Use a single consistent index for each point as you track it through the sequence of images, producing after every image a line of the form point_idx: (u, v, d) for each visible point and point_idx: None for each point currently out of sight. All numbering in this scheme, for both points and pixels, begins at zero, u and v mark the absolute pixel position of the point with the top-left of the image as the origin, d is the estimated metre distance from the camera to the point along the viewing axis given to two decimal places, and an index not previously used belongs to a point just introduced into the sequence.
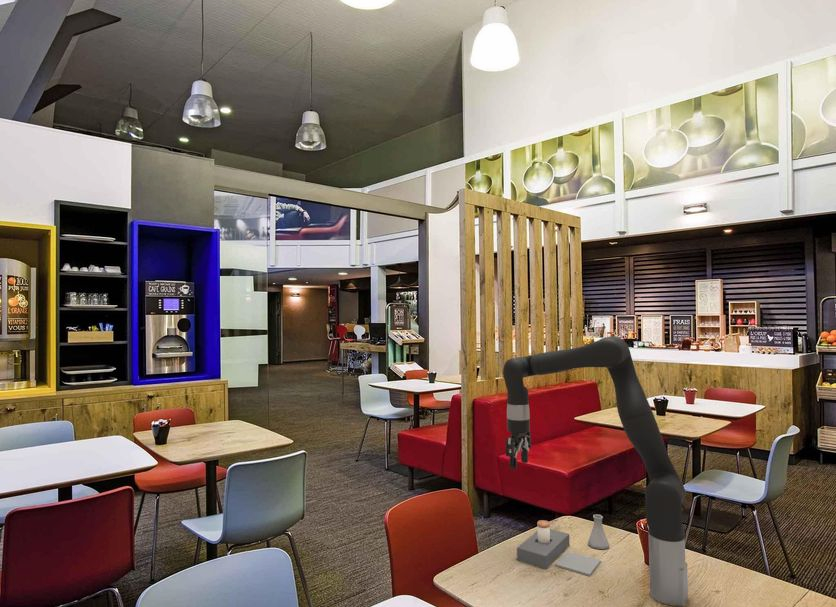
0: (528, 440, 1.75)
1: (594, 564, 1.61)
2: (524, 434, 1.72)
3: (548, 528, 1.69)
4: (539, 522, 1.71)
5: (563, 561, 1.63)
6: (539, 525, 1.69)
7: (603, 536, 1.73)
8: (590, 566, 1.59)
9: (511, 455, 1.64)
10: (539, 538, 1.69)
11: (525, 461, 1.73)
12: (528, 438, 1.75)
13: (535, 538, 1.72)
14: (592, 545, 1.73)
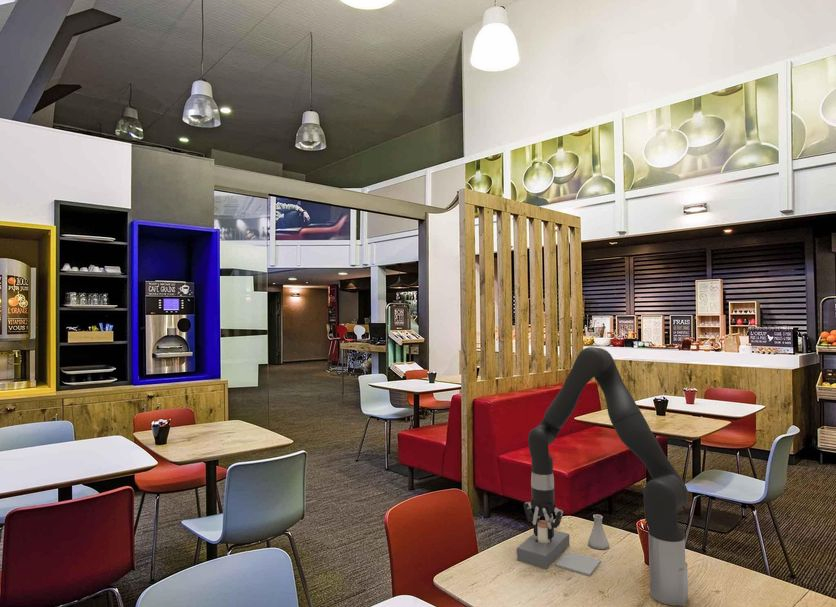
0: (531, 510, 1.74)
1: (594, 564, 1.61)
2: None
3: None
4: (539, 522, 1.70)
5: (563, 561, 1.63)
6: (539, 525, 1.69)
7: (603, 536, 1.73)
8: (590, 566, 1.59)
9: (558, 524, 1.68)
10: (539, 538, 1.69)
11: None
12: (530, 508, 1.74)
13: (535, 538, 1.72)
14: (592, 545, 1.73)
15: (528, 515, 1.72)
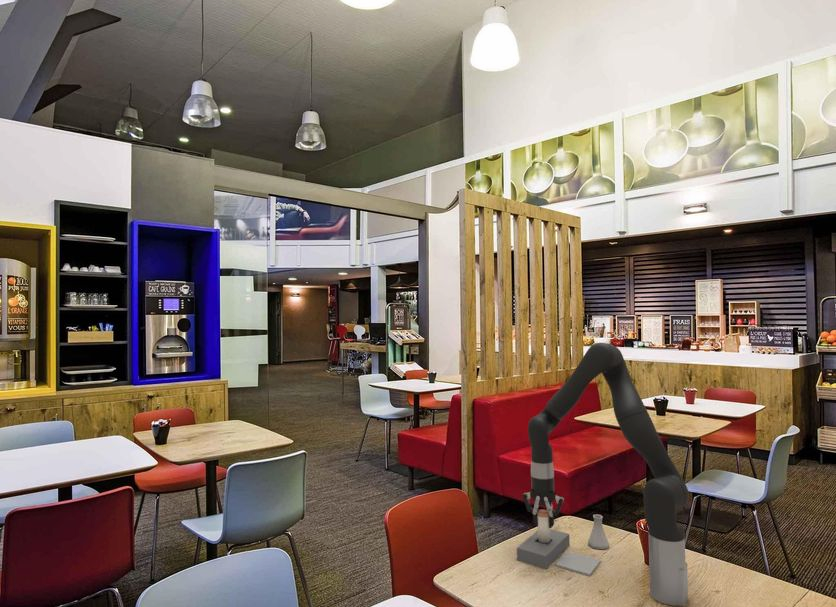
0: (529, 501, 1.73)
1: (594, 564, 1.61)
2: None
3: None
4: (539, 512, 1.70)
5: (563, 561, 1.63)
6: (540, 515, 1.69)
7: (603, 536, 1.73)
8: (590, 566, 1.59)
9: None
10: (540, 528, 1.69)
11: None
12: (528, 499, 1.73)
13: (535, 538, 1.72)
14: (592, 545, 1.73)
15: (528, 505, 1.71)
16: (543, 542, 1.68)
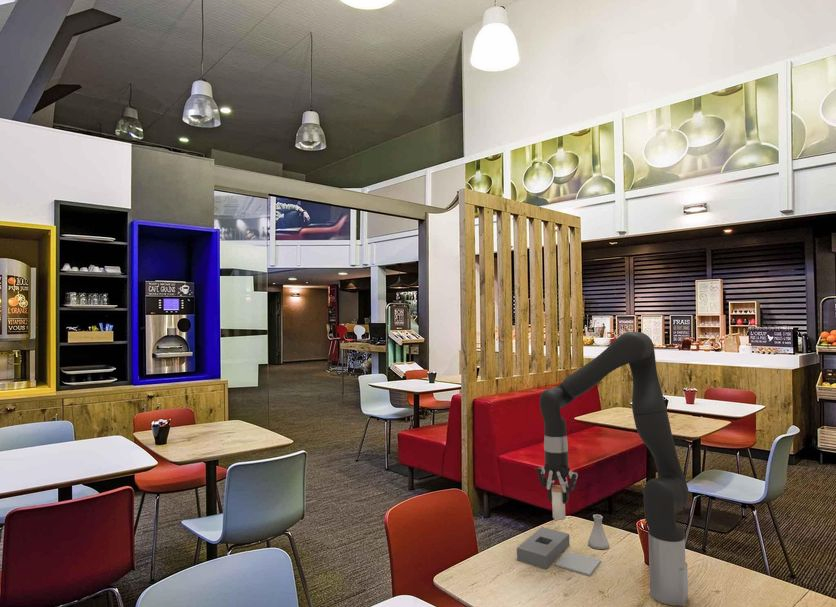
0: (544, 476, 1.70)
1: (594, 564, 1.61)
2: None
3: None
4: (553, 487, 1.67)
5: (563, 561, 1.63)
6: (553, 490, 1.66)
7: (603, 536, 1.73)
8: (590, 566, 1.59)
9: (573, 488, 1.64)
10: (554, 503, 1.66)
11: None
12: (543, 474, 1.71)
13: (535, 538, 1.72)
14: (592, 545, 1.73)
15: (542, 480, 1.69)
16: (557, 518, 1.65)
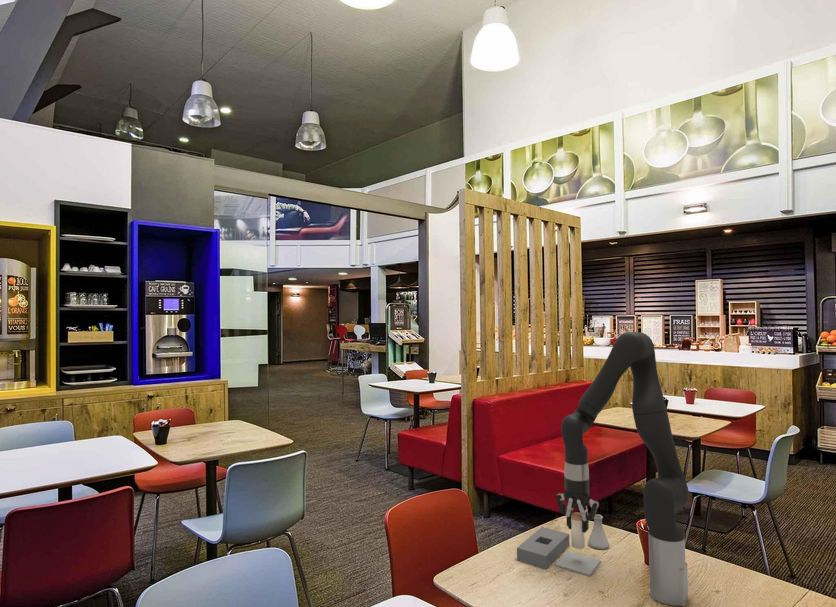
0: (563, 502, 1.66)
1: (594, 564, 1.61)
2: None
3: None
4: (573, 514, 1.63)
5: (563, 561, 1.63)
6: (573, 518, 1.61)
7: (603, 536, 1.73)
8: (590, 566, 1.59)
9: (594, 516, 1.60)
10: (573, 531, 1.62)
11: None
12: (563, 500, 1.66)
13: (535, 538, 1.72)
14: (592, 545, 1.73)
15: (561, 507, 1.65)
16: (576, 546, 1.61)
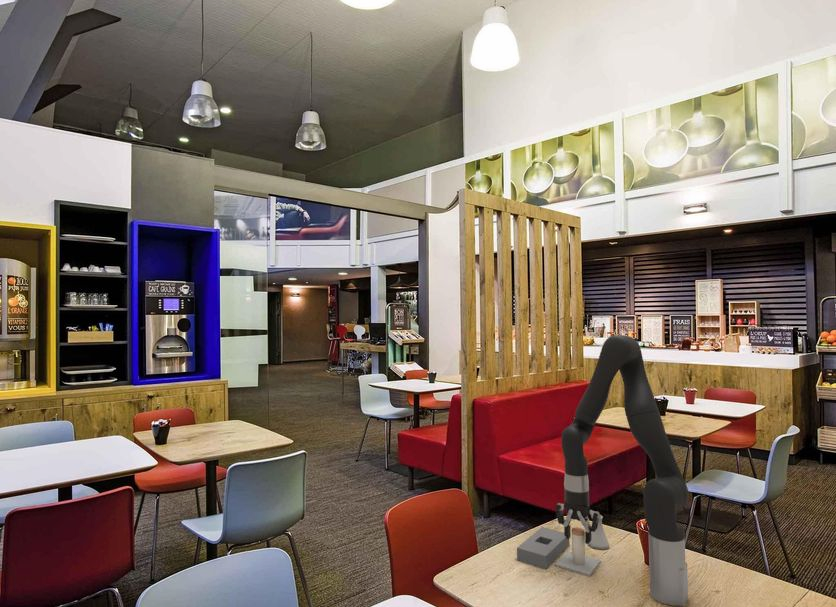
0: (562, 512, 1.66)
1: (594, 564, 1.61)
2: None
3: (583, 536, 1.61)
4: (574, 529, 1.63)
5: (563, 561, 1.63)
6: (574, 533, 1.61)
7: (603, 536, 1.73)
8: (590, 566, 1.59)
9: (596, 528, 1.59)
10: (574, 546, 1.61)
11: (569, 536, 1.64)
12: None
13: (535, 538, 1.72)
14: (592, 545, 1.73)
15: (559, 517, 1.65)
16: (576, 562, 1.61)
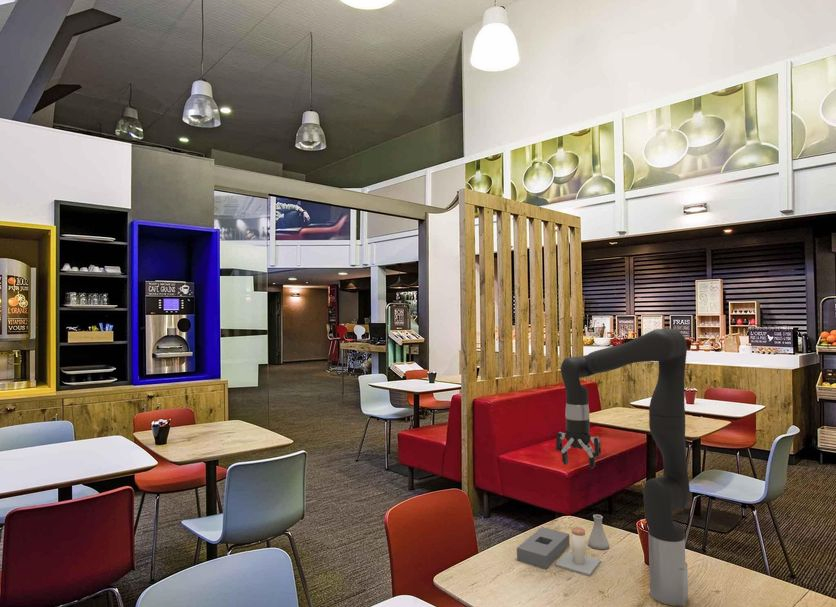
0: (561, 441, 1.72)
1: (594, 564, 1.61)
2: None
3: (584, 536, 1.61)
4: (574, 529, 1.63)
5: (563, 561, 1.63)
6: (574, 532, 1.62)
7: (603, 536, 1.73)
8: (590, 566, 1.59)
9: (600, 453, 1.64)
10: (574, 546, 1.61)
11: (567, 462, 1.70)
12: None
13: (535, 538, 1.72)
14: (592, 545, 1.73)
15: (558, 444, 1.71)
16: (576, 562, 1.61)
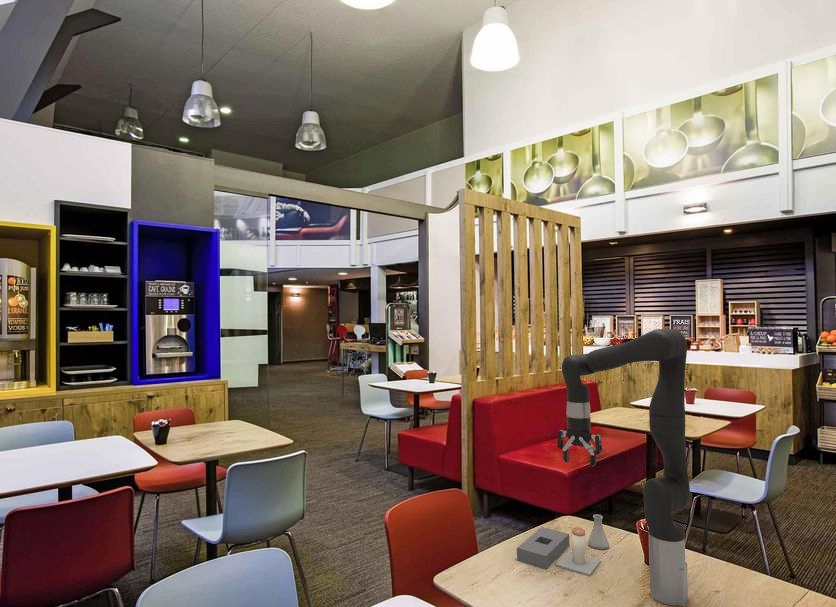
0: (563, 439, 1.73)
1: (594, 564, 1.61)
2: None
3: (584, 536, 1.61)
4: (574, 530, 1.62)
5: (563, 561, 1.63)
6: (574, 533, 1.61)
7: (603, 536, 1.73)
8: (590, 566, 1.59)
9: (601, 451, 1.65)
10: (574, 546, 1.61)
11: (568, 460, 1.71)
12: (563, 437, 1.73)
13: (535, 538, 1.72)
14: (592, 545, 1.73)
15: (559, 442, 1.71)
16: (576, 562, 1.61)
